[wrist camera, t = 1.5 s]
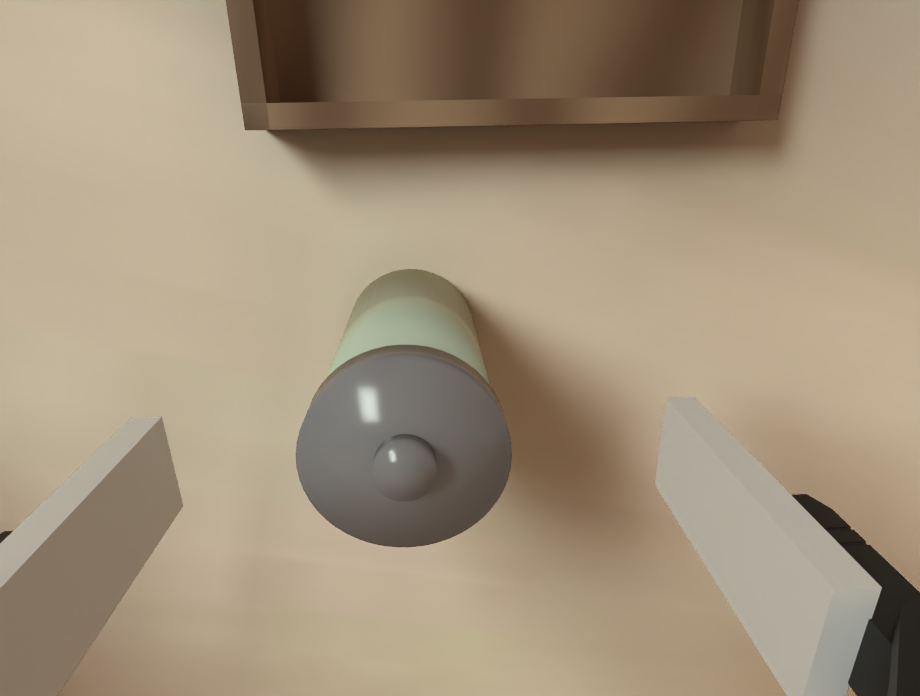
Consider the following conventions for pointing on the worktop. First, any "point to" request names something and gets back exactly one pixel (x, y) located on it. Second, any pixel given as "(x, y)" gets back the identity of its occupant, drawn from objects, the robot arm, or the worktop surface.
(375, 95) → the tray
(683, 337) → the worktop surface
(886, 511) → the worktop surface
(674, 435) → the robot arm
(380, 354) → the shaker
